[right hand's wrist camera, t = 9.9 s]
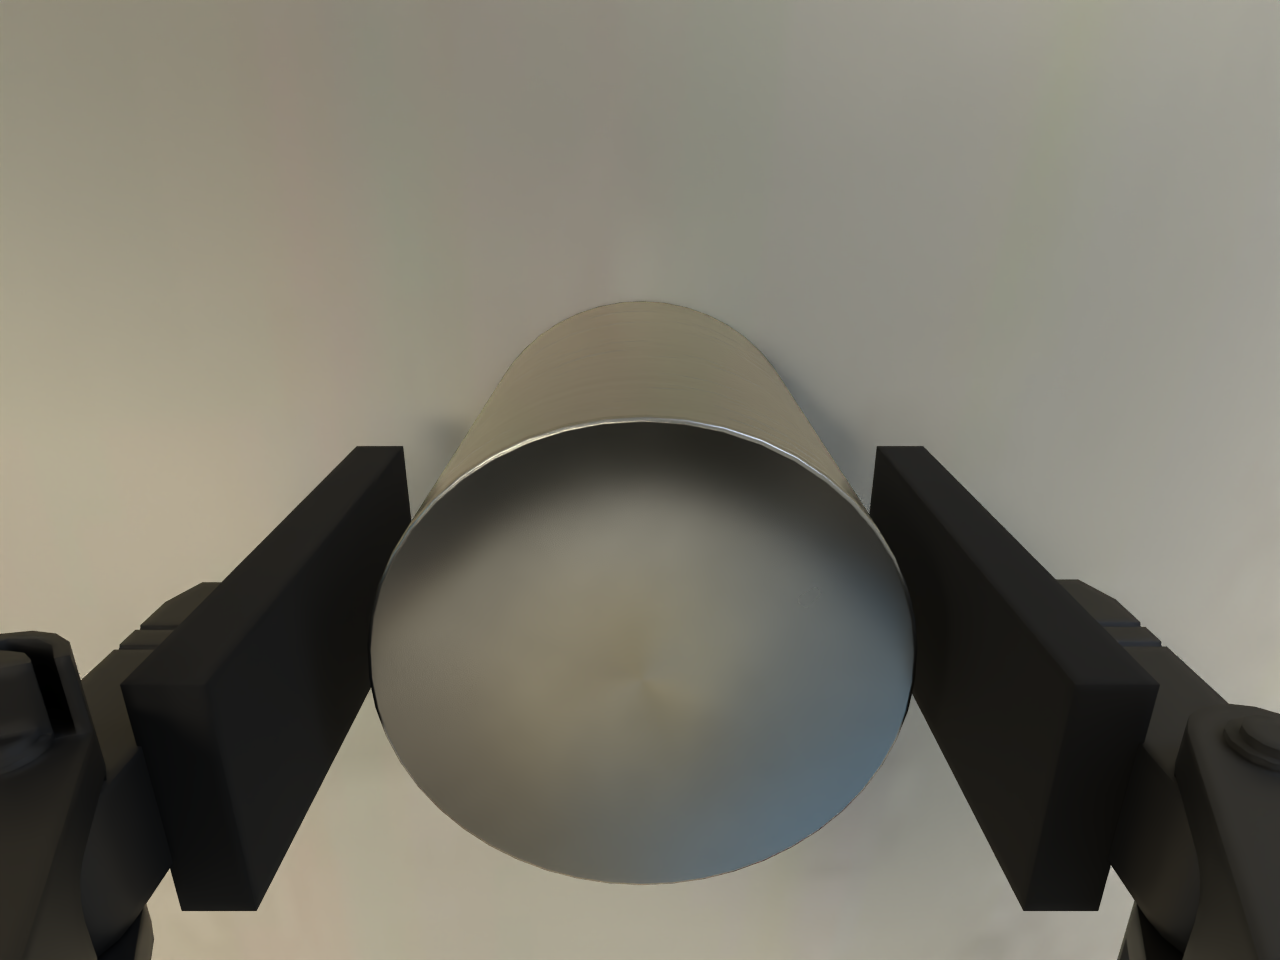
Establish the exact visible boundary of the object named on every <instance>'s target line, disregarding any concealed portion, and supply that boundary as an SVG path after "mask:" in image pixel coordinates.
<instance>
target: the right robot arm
mask: <svg viewBox="0 0 1280 960" xmlns="http://www.w3.org/2000/svg"><path fill="white" fill-rule="evenodd" d="M869 515H870V517H871V518H872V520H873V521H874V523H875V524H876V526H877V527H878V529H879V531H880V532H881V534H882V536H883V537H884V539H885V540H886V542H887V544H888V545H889V547H890V549H891V550H892V552H893V554H894V555H895V557H896V560H897V562H898V565H899V567H900V569H901V572H902V574H903V577H904V579H905V582H906V584H907V586H908V591H909V595H910V599H911V603H912V607H913V611H914V615H915V624H916V637H917V661H916V674H915V682H914V687H913V691H912V694H913V696H914V698H915V700H916V702H917V704H918V706H919V708H920V710H921V712H922V714H923V716H924V718H925V719H926V721H927V723H928V725H929V727H930V729H931V731H932V733H933V735H934V737H935V739H936V741H937V743H938V745H939V747H940V749H941V751H942V753H943V755H944V757H945V759H946V761H947V762H948V764H949V766H950V768H951V770H952V772H953V774H954V776H955V778H956V780H957V782H958V784H959V786H960V788H961V790H962V792H963V794H964V796H965V798H966V800H967V802H968V804H969V805H970V807H971V809H972V811H973V813H974V815H975V817H976V819H977V821H978V823H979V825H980V827H981V829H982V831H983V833H984V835H985V837H986V839H987V841H988V843H989V845H990V847H991V848H992V850H993V852H994V854H995V856H996V858H997V860H998V862H999V864H1000V866H1001V868H1002V870H1003V872H1004V874H1005V876H1006V878H1007V880H1008V882H1009V884H1010V886H1011V888H1012V890H1013V891H1014V893H1015V895H1016V897H1017V899H1018V901H1019V903H1020V905H1021V907H1022V909H1023V911H1098V910H1099V906H1100V902H1101V899H1102V895H1103V892H1104V888H1105V884H1106V881H1107V877H1108V873H1109V870H1110V866H1112V867H1113V869H1114V870H1115V872H1116V873H1117V875H1118V876H1119V878H1120V879H1121V881H1122V882H1123V884H1124V885H1125V887H1126V888H1127V889H1128V891H1129V892H1130V894H1131V895H1132V897H1133V898H1134V900H1135V901H1134V905H1133V908H1132V911H1131V915H1130V918H1129V922H1128V925H1127V928H1126V932H1125V935H1124V939H1123V942H1122V945H1121V949H1120V952H1119V956H1118V959H1117V960H1280V714H1278V713H1275V712H1271V711H1268V710H1264V709H1261V708H1257V707H1253V706H1244V705H1235V704H1229V703H1227V702H1226V701H1225V700H1224V699H1223V698H1222V697H1221V696H1220V695H1219V694H1218V693H1217V692H1215V691H1214V690H1213V689H1212V688H1211V687H1210V686H1209V685H1208V684H1207V683H1206V682H1205V681H1204V680H1202V679H1201V678H1200V677H1199V676H1198V675H1197V674H1196V673H1195V672H1194V671H1193V670H1192V669H1191V668H1189V667H1188V666H1187V665H1186V664H1185V663H1184V662H1183V661H1182V660H1181V659H1180V658H1179V657H1177V656H1176V655H1175V654H1174V653H1173V652H1172V651H1171V650H1170V649H1169V648H1168V647H1162V645H1161V641H1160V640H1159V639H1158V638H1157V637H1156V636H1155V635H1154V634H1153V633H1151V632H1150V631H1149V630H1148V629H1147V628H1146V627H1141V626H1140V622H1139V621H1138V620H1137V619H1136V618H1135V617H1134V616H1133V615H1132V614H1131V613H1130V612H1129V611H1128V610H1126V609H1125V608H1124V607H1123V606H1122V605H1121V604H1120V603H1119V602H1118V601H1117V600H1116V599H1114V598H1112V597H1110V596H1108V595H1106V594H1104V593H1103V592H1101V591H1099V590H1097V589H1095V588H1093V587H1091V586H1089V585H1087V584H1086V583H1084V582H1082V581H1080V580H1056V579H1055V578H1054V577H1053V576H1052V575H1051V574H1050V573H1049V572H1048V571H1047V570H1046V569H1045V568H1044V567H1043V566H1042V565H1041V564H1040V563H1039V562H1038V561H1037V560H1036V559H1035V558H1034V557H1033V556H1032V555H1031V554H1030V553H1029V552H1028V551H1027V550H1026V549H1025V548H1024V547H1023V546H1022V545H1021V544H1020V543H1019V542H1018V541H1017V540H1016V539H1015V538H1014V537H1013V536H1012V535H1011V534H1010V533H1009V532H1008V531H1007V530H1006V529H1005V528H1004V527H1003V526H1002V525H1001V524H1000V523H999V522H998V521H997V520H996V519H995V518H994V517H993V516H992V515H991V514H990V513H989V512H988V511H987V510H986V509H985V508H984V507H983V506H982V505H981V504H980V503H979V502H978V501H977V500H976V499H975V498H974V497H973V496H972V495H971V494H970V493H969V492H968V491H967V490H966V489H965V488H964V487H963V486H962V485H961V484H960V483H959V482H958V481H957V480H956V479H955V478H954V477H953V476H952V475H951V474H950V473H949V472H948V471H947V470H946V469H945V468H944V467H943V466H942V465H941V464H940V463H939V462H938V461H937V460H936V459H935V458H934V457H933V456H932V455H931V454H930V453H929V452H928V451H927V450H926V449H925V448H924V447H923V446H877V451H876V460H875V469H874V478H873V487H872V496H871V505H870V514H869ZM410 523H411V514H410V505H409V496H408V487H407V478H406V469H405V460H404V451H403V446H357V447H356V448H355V449H354V450H353V451H352V452H351V453H350V454H349V455H348V456H347V457H346V458H345V459H344V460H343V461H342V462H341V463H340V464H339V465H338V466H337V467H336V468H335V469H334V470H333V471H332V472H331V473H330V474H329V475H328V476H327V477H326V478H325V479H324V480H323V481H322V482H321V483H320V484H319V485H318V486H317V487H316V488H315V489H314V490H313V491H312V492H311V493H310V494H309V495H308V496H307V497H306V498H305V499H304V500H303V501H302V502H301V503H300V504H299V505H298V506H297V507H296V508H295V509H294V510H293V511H292V512H291V513H290V514H289V515H288V516H287V517H286V518H285V519H284V520H283V521H282V522H281V523H280V524H279V525H278V526H277V527H276V528H275V529H274V530H273V531H272V532H271V533H270V534H269V535H268V536H267V537H266V538H265V539H264V540H263V541H262V542H261V543H260V544H259V545H258V546H257V547H256V548H255V549H254V550H253V551H252V552H251V553H250V554H249V555H248V556H247V557H246V558H245V559H244V560H243V561H242V562H241V563H240V564H239V565H238V566H237V567H236V568H235V569H234V570H233V571H232V572H231V573H230V574H229V575H228V576H227V577H226V578H225V579H224V580H223V581H222V582H202V583H200V584H198V585H197V586H195V587H193V588H191V589H189V590H187V591H185V592H183V593H182V594H180V595H178V596H176V597H174V598H172V599H170V600H168V601H167V602H165V603H164V604H163V605H162V606H161V607H160V608H159V609H157V610H156V611H155V612H154V613H153V614H152V615H151V616H150V617H149V618H148V619H147V620H146V621H145V622H143V623H142V624H141V625H140V627H141V628H140V630H135V631H134V632H133V633H132V634H131V635H129V636H128V637H127V638H126V639H125V640H124V641H123V642H122V643H121V644H120V648H119V650H113V651H112V652H111V653H110V654H109V655H108V656H107V657H106V658H105V659H104V660H103V661H101V662H100V663H99V664H98V665H97V666H96V667H95V668H94V669H93V670H92V671H91V672H90V673H89V674H87V675H86V676H85V677H84V678H83V679H82V680H80V676H79V673H78V670H77V666H76V663H75V659H74V656H73V653H72V649H71V646H70V642H69V641H67V640H65V639H64V638H62V637H61V636H59V635H58V634H55V633H47V632H38V631H26V632H15V633H5V634H0V960H151V956H152V949H153V943H154V936H153V929H152V922H151V918H150V915H149V911H148V908H147V905H146V903H147V902H148V900H149V899H150V897H151V896H152V894H153V893H154V891H155V890H156V888H157V887H158V885H159V884H160V882H161V881H162V879H163V878H164V876H165V875H166V873H167V872H168V870H169V869H170V870H171V873H172V877H173V881H174V884H175V888H176V892H177V895H178V899H179V903H180V906H181V910H182V911H257V909H258V907H259V905H260V903H261V901H262V899H263V897H264V895H265V893H266V891H267V889H268V888H269V886H270V884H271V882H272V880H273V878H274V876H275V874H276V872H277V870H278V868H279V866H280V864H281V862H282V860H283V858H284V856H285V854H286V852H287V850H288V848H289V846H290V845H291V843H292V841H293V839H294V837H295V835H296V833H297V831H298V829H299V827H300V825H301V823H302V821H303V819H304V817H305V815H306V813H307V811H308V809H309V807H310V805H311V803H312V802H313V800H314V798H315V796H316V794H317V792H318V790H319V788H320V786H321V784H322V782H323V780H324V778H325V776H326V774H327V772H328V770H329V768H330V766H331V764H332V762H333V760H334V759H335V757H336V755H337V753H338V751H339V749H340V747H341V745H342V743H343V741H344V739H345V737H346V735H347V733H348V731H349V729H350V727H351V725H352V723H353V721H354V719H355V717H356V716H357V714H358V712H359V710H360V708H361V706H362V704H363V702H364V700H365V698H366V696H367V694H368V692H369V690H370V688H371V684H370V679H369V669H368V651H367V642H368V632H369V622H370V613H371V609H372V606H373V602H374V598H375V594H376V590H377V586H378V583H379V580H380V578H381V576H382V574H383V571H384V569H385V567H386V564H387V562H388V560H389V558H390V555H391V553H392V551H393V550H394V548H395V547H396V545H397V543H398V542H399V540H400V539H401V537H402V536H403V534H404V532H405V531H406V529H407V528H408V526H409V524H410Z"/></svg>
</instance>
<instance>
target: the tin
mask: <svg viewBox="0 0 1280 960" xmlns="http://www.w3.org/2000/svg"><path fill="white" fill-rule="evenodd" d="M367 651H368V669H369V679H370V684H371V688H372V693H373V698H374V703H375V707H376V710H377V713H378V715H379V718H380V721H381V724H382V726H383V729H384V732H385V734H386V737H387V739H388V740H389V742H390V744H391V746H392V748H393V750H394V751H395V753H396V755H397V757H398V759H399V761H400V762H401V764H402V765H403V767H404V768H405V769H406V771H407V772H408V773H409V775H410V776H411V777H412V779H413V780H414V782H415V783H416V784H417V786H418V787H419V788H420V789H421V790H422V791H423V792H424V793H425V794H426V795H427V796H428V798H429V799H430V800H431V801H432V802H433V803H434V804H435V805H436V806H437V807H438V808H439V809H440V810H441V811H442V812H444V813H445V814H446V815H447V816H448V817H450V818H451V819H452V820H453V821H455V822H456V823H457V824H458V825H459V826H461V827H462V828H463V829H465V830H466V831H468V832H469V833H471V834H472V835H474V836H475V837H477V838H478V839H480V840H482V841H483V842H485V843H486V844H488V845H489V846H491V847H493V848H495V849H497V850H499V851H501V852H503V853H505V854H507V855H509V856H511V857H513V858H515V859H517V860H520V861H523V862H526V863H528V864H531V865H534V866H536V867H539V868H542V869H544V870H547V871H551V872H555V873H559V874H563V875H566V876H570V877H574V878H578V879H585V880H591V881H598V882H604V883H615V884H633V885H649V884H672V883H679V882H686V881H693V880H700V879H705V878H709V877H713V876H717V875H722V874H726V873H730V872H734V871H737V870H739V869H742V868H745V867H748V866H750V865H753V864H756V863H759V862H762V861H764V860H766V859H768V858H770V857H772V856H775V855H777V854H779V853H781V852H783V851H785V850H787V849H789V848H791V847H793V846H794V845H796V844H798V843H799V842H801V841H802V840H804V839H806V838H807V837H809V836H810V835H812V834H814V833H815V832H817V831H818V830H820V829H821V828H822V827H823V826H825V825H826V824H827V823H828V822H830V821H831V820H832V819H833V818H835V817H836V816H837V815H838V814H839V813H841V812H842V811H843V810H844V809H845V808H846V807H847V806H848V805H849V804H850V803H851V802H852V801H853V800H854V799H855V798H856V797H857V796H858V795H859V794H860V793H861V792H862V791H863V790H864V788H865V787H866V786H867V784H868V783H869V782H870V780H871V779H872V778H873V776H874V775H875V774H876V772H877V771H878V770H879V769H880V767H881V766H882V764H883V763H884V761H885V759H886V757H887V756H888V754H889V752H890V750H891V748H892V747H893V745H894V743H895V741H896V740H897V737H898V735H899V732H900V730H901V727H902V725H903V722H904V719H905V717H906V714H907V712H908V708H909V704H910V700H911V695H912V691H913V687H914V682H915V674H916V661H917V637H916V624H915V615H914V611H913V607H912V603H911V599H910V595H909V591H908V586H907V584H906V582H905V579H904V577H903V574H902V572H901V569H900V567H899V565H898V562H897V560H896V557H895V555H894V554H893V552H892V550H891V549H890V547H889V545H888V544H887V542H886V540H885V539H884V537H883V536H882V534H881V532H880V531H879V529H878V527H877V526H876V524H875V523H874V521H873V520H872V518H871V517H870V515H869V513H868V512H867V510H866V509H865V507H864V506H863V504H862V503H861V501H860V500H859V498H858V497H857V495H856V494H855V492H854V490H853V489H852V487H851V486H850V484H849V483H848V481H847V480H846V478H845V477H844V475H843V474H842V472H841V470H840V469H839V467H838V466H837V464H836V463H835V461H834V460H833V458H832V457H831V455H830V454H829V452H828V450H827V449H826V447H825V446H824V444H823V443H822V441H821V440H820V438H819V437H818V435H817V434H816V432H815V431H814V429H813V427H812V426H811V424H810V423H809V421H808V420H807V418H806V417H805V415H804V414H803V412H802V411H801V409H800V407H799V406H798V404H797V403H796V401H795V400H794V398H793V397H792V395H791V394H790V392H789V391H788V389H787V387H786V386H785V384H784V383H783V381H782V380H781V378H780V377H779V375H778V374H777V372H776V371H775V369H774V368H773V366H772V365H771V364H770V363H769V361H768V360H767V359H766V358H765V357H764V355H763V354H762V353H761V352H760V351H759V350H758V349H757V348H756V347H755V346H754V345H753V344H752V343H751V342H749V341H748V340H747V339H746V338H745V337H744V336H742V335H741V334H739V333H738V332H737V331H735V330H734V329H732V328H731V327H729V326H728V325H726V324H724V323H723V322H721V321H719V320H717V319H715V318H713V317H711V316H709V315H707V314H704V313H701V312H698V311H695V310H692V309H690V308H687V307H682V306H677V305H673V304H668V303H659V302H646V301H638V302H622V303H615V304H610V305H605V306H600V307H596V308H593V309H590V310H587V311H584V312H581V313H579V314H576V315H574V316H572V317H570V318H568V319H566V320H564V321H562V322H560V323H558V324H556V325H555V326H553V327H552V328H550V329H549V330H547V331H546V332H545V333H543V334H542V335H540V336H539V337H538V338H537V339H536V340H534V341H533V342H532V343H531V344H530V345H529V346H528V347H527V348H525V349H524V350H523V352H522V353H521V354H520V355H519V356H518V357H517V359H516V360H515V361H514V362H513V363H512V365H511V366H510V367H509V369H508V370H507V372H506V373H505V375H504V377H503V378H502V380H501V381H500V383H499V384H498V386H497V388H496V389H495V391H494V392H493V394H492V395H491V397H490V399H489V400H488V402H487V403H486V405H485V406H484V408H483V410H482V411H481V413H480V414H479V416H478V417H477V419H476V421H475V422H474V424H473V425H472V427H471V428H470V430H469V432H468V433H467V435H466V436H465V438H464V439H463V441H462V443H461V444H460V446H459V447H458V449H457V451H456V452H455V454H454V455H453V457H452V458H451V460H450V462H449V463H448V465H447V466H446V468H445V469H444V471H443V473H442V474H441V476H440V477H439V479H438V480H437V482H436V484H435V485H434V487H433V488H432V490H431V491H430V493H429V495H428V496H427V498H426V499H425V501H424V502H423V504H422V506H421V507H420V509H419V510H418V512H417V513H416V515H415V517H414V518H413V520H412V521H411V523H410V524H409V526H408V528H407V529H406V531H405V532H404V534H403V536H402V537H401V539H400V540H399V542H398V543H397V545H396V547H395V548H394V550H393V551H392V553H391V555H390V558H389V560H388V562H387V564H386V567H385V569H384V571H383V574H382V576H381V578H380V580H379V583H378V586H377V590H376V594H375V598H374V602H373V606H372V609H371V613H370V622H369V632H368V642H367Z"/></svg>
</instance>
